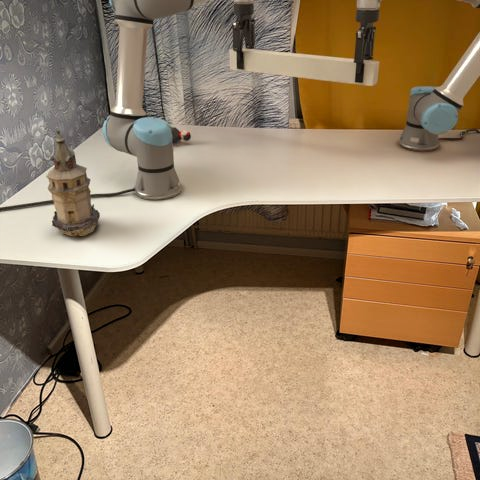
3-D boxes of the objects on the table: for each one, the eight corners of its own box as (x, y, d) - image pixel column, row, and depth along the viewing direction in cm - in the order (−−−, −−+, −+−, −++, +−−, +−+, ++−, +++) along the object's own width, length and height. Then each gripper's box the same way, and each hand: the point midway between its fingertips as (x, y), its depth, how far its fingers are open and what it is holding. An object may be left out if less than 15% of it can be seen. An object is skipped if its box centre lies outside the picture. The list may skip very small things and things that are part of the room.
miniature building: (80, 214, 164) (63, 117, 149) (111, 225, 157) (96, 125, 142) (44, 231, 154) (22, 130, 140) (75, 244, 147) (55, 139, 133)
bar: (229, 69, 210) (229, 49, 206) (236, 66, 214) (236, 47, 210) (372, 86, 184) (374, 64, 180) (377, 83, 188) (379, 61, 184)
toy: (131, 118, 232) (198, 118, 226) (134, 133, 235) (199, 133, 229) (107, 138, 210) (180, 138, 204) (110, 153, 213) (182, 154, 207)
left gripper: (239, 5, 190) (240, 73, 201) (264, 0, 203) (263, 64, 215) (221, 4, 193) (223, 71, 204) (247, 0, 207) (247, 62, 218)
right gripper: (369, 12, 168) (363, 87, 179) (387, 6, 181) (380, 76, 193) (347, 11, 171) (342, 85, 183) (366, 5, 185) (360, 74, 196)
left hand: (244, 67), depth 209 cm, fingers closed on bar, 5 cm apart
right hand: (361, 80), depth 188 cm, fingers closed on bar, 5 cm apart
